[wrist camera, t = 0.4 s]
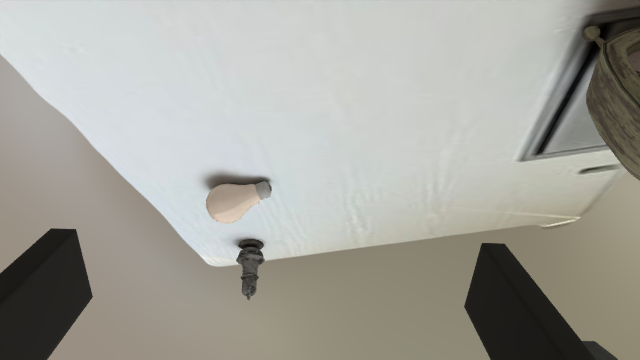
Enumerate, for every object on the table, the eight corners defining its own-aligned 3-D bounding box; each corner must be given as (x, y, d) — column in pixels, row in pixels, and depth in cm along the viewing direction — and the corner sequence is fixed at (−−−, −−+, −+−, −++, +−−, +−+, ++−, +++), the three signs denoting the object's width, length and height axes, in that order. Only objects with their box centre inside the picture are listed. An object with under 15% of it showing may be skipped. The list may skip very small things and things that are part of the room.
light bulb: (273, 197, 60) (205, 222, 59) (280, 211, 66) (218, 234, 65) (261, 161, 62) (195, 185, 61) (269, 178, 68) (209, 200, 67)
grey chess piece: (231, 244, 83) (227, 300, 76) (251, 236, 80) (248, 293, 74) (250, 252, 87) (248, 306, 80) (270, 245, 85) (269, 300, 78)
